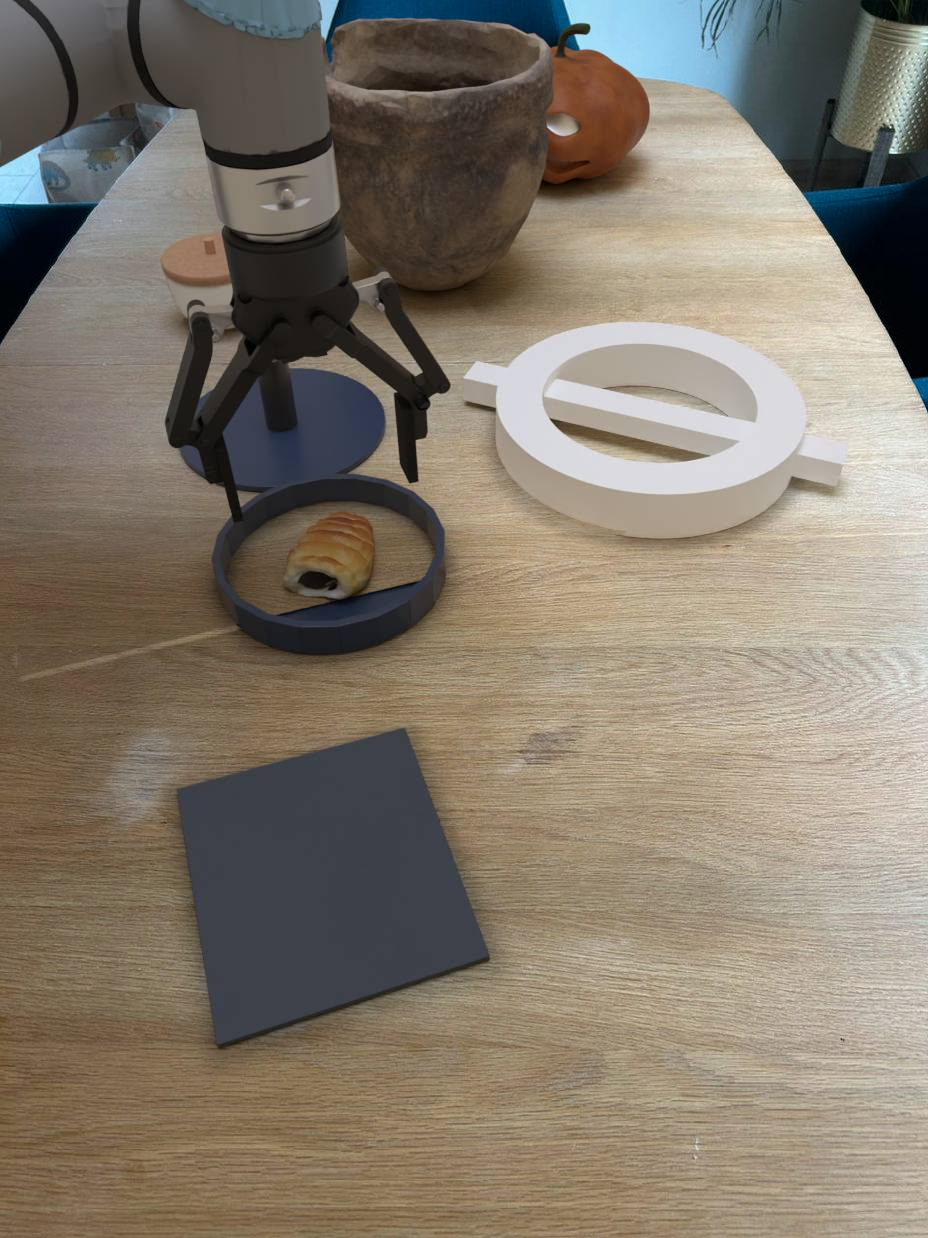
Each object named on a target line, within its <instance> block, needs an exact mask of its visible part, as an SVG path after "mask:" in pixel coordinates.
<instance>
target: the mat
mask: <svg viewBox="0 0 928 1238" xmlns="http://www.w3.org/2000/svg"><path fill="white" fill-rule="evenodd" d="M176 794H177V801H178V808H179V814H180V819H181V826H182V832H183V838H184V845H185V852H186V857H187V864H188V871H189V876H190V882H191V883H190V884H191V889H192V895H193V902H194V908H195V909H194V910H195V914H196V921H197V927H198V935H199V940H200V946H201V952H202V959H203V965H204V972H205V978H206V984H207V990H208V991H207V992H208V997H209V1004H210V1010H211V1016H212V1022H213V1030H214V1034H215V1041H216V1046H217V1048H219V1049H220V1048H221V1049H222V1048H223V1047H227V1046H229V1045H233V1044H236V1043H240V1042H243V1041H246V1040H248V1039H251V1038H254V1037H257V1036H260V1035H263V1034H266V1033H269V1032H273V1031H276V1030H279V1029H282V1028H284V1027H288V1026H290V1025H294V1024H297V1023H299V1022H303V1021H306V1020H309V1019H312V1018H315V1017H318V1016H321V1015H324V1014H328V1013H331V1012H334V1011H336V1010H339V1009H343V1008H347V1007H349V1006H352V1005H355V1004H358V1003H362V1002H364V1001H367V1000H370V999H373V998H376V997H379V996H383V995H386V994H388V993H392V992H394V991H398V990H401V989H404V988H407V987H410V986H413V985H416V984H419V983H423V982H426V981H429V980H431V979H435V978H437V977H440V976H444V975H446V974H450V973H453V972H456V971H459V970H462V969H465V968H468V967H471V966H474V965H477V964H480V963H484V962H486V961H489V960H490V958H491V957H490V952H489V950H488V947H487V944H486V942H485V939H484V937H483V934H482V931H481V928H480V926H479V923H478V921H477V918H476V914H475V912H474V909H473V907H472V904H471V902H470V899H469V896H468V893H467V891H466V889H465V886H464V883H463V880H462V877H461V874H460V872H459V869H458V866H457V864H456V861H455V859H454V855H453V853H452V851H451V848H450V845H449V842H448V839H447V837H446V834H445V831H444V829H443V826H442V824H441V821H440V818H439V815H438V813H437V810H436V807H435V804H434V802H433V799H432V797H431V794H430V791H429V788H428V785H427V783H426V781H425V778H424V774H423V772H422V770H421V767H420V764H419V760H418V758H417V756H416V754H415V751H414V748H413V745H412V743H411V740H410V738H409V734H408V732H407V730H406V727H401V728H398V729H394V730H391V731H387V732H384V733H383V732H382V733H379V734H376V735H371V736H368V737H365V738H360V739H357V740H353V741H349V742H346V743H342V744H338V745H334V746H331V747H327V748H324V749H320V750H317V751H312V752H309V753H305V754H301V755H297V756H294V757H291V758H286V759H283V760H279V761H276V762H272V763H268V764H265V765H264V764H263V765H260V766H257V767H254V768H250V769H249V768H248V769H246V770H242V771H239V772H234V773H231V774H227V775H223V776H219V777H216V778H212V779H209V780H205V781H201V782H198V783H193V784H190V785H187V786H183V787H178V788H176Z"/></svg>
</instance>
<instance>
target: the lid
mask: <svg viewBox="0 0 928 1238" xmlns="http://www.w3.org/2000/svg"><path fill="white" fill-rule="evenodd" d="M212 391H213V389H211V390H210V391H207V392H206V393H205V394H203V396H200V399H199V402H198V406H197V409H196V412H195V416H194V419H195V418H196V416H197V415H198V413H199V412H200V410H201V408H202V407H203V405H204V404H205V402H206V400H207V399H208V397H209V395H210V394H211V392H212ZM385 431H386V414H385V409H384V406H383V404H382V402H381V401H380V399H379V398H378V396H377V395H376V393H374V392H373V391H372V390H371V389H370V388H369V387H368V386H366V385H365V384H364V383H362V382H360V381H358V380H356V379H354V378H351V377H349V376H347V375H344V374H341V373H339V372H334V371H328V370H326V369H325V370H324V369H319V368H304V367H290V364H289V363H285V364H283V363H282V361H279V360H275V359H273V361H272V362H271V364H270V365H269V367H268V369H267V370H266V372H265V373H264V375H263V376H260V377H258V378H257V380H256V381H255V383H254V384H253V386H252V388H251V389H250V391H249V392H248V394H247V395H246V397H245V398H244V400H243V402H242V403H241V405H240V406H239V408H238V409H237V411H236V412H235V414H234V416H233V417H232V419H231V420H230V422H229V423H228V425H227V427H226V428H225V430H224V431H223V437H224V440H225V444H226V447H227V451H228V455H229V460H230V464H231V468H232V472H233V477H234V481H235V485H236V489H237V490H241V491H245V492H246V491H247V492H258V493H263V492H265V491H267V490H270V489H272V488H274V487H277V486H279V485H281V484H284V483H286V482H289V481H292V480H297V479H302V478H306V477H311V476H316V475H321V474H348V473H349V472H350V471H353V470H354V469H355V468H357V467H358V466H359V465H361V464H363V463H364V462H365V461H366V460H367V459H368V458H369V457H370V456H371V455H372V454H373V453H374V452H375V451H376V449H377V448H378V447H379V445H380V443H381V441H382V440H383V437H384V434H385ZM179 451H180V455H181V457H182V458H183V460H184V461H185V463H186V464H187V465H188V467H190V469H192V470H193V471H194V472H195V473H196V474H198V475H199V476H200V477H202V478H204V479H206V477H205V473H204V469H203V465H202V462H201V458H200V454H199V451H198V450H197V449H196V448H195V447H193V446H189V445H185V446H183V447H181V448H179ZM216 484H217V485H220V486H223V487H224V483H223V482H219V483H216Z"/></svg>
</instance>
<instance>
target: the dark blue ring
mask: <svg viewBox="0 0 928 1238" xmlns="http://www.w3.org/2000/svg"><path fill="white" fill-rule="evenodd" d="M341 502H342V503H343V502H344V503H346V502H347V503H348V502H350V503H352V502H356V503H357V502H358V503H361V504H362V503H363V504H366V505H367V504H368V505H371V506H373V505H374V506H378V507H383V508H386V509H388V510H391V511H393V512H395V513H398V514H400V515H402V516H404V517H406V518H408V519H409V520H411V521H412V522H413V523H414V524H415V525H416V526H417V527H419V529H421V530H422V531H423V532H424V533H425V534H426V535H427V536H428V538H429V540H430V542H431V545H432V547H433V549H434V551H435V555H434V557H433V558H432V560H431V563H430V564H429V567H428V569H427V571H426V573H425V575H424V576H423V577H422V578H421V579H420V580H415V581H411V582H408V583H404V584H399V585H395V586H391V587H386V588H381V589H378V590H374V591H369V592H365V593H362V594H358V595H352V596H349V597H347V598H345V599H340V600H339V599H335V600H333V601H332V600H331V601H328V602H324V603H320V604H315V605H311V606H307V607H302V608H299V609H294V610H290V611H286V612H282V613H277V614H272V613H268V612H266V611H265V610H262V609H260V608H259V607H258V606H255V605H254V604H252V603H250V602H248V601H246V600H244V599H243V598H242V597H241V596H240V595H239V594H238V593H237V591H235V589H234V588H233V587H232V586H231V584H230V583H229V582H228V581H227V578H228V575H229V574H228V573H229V570H230V565H231V561H232V558H233V556H234V555H235V554H236V552H237V551H238V550H239V548H240V547H241V545H242V544H243V542H244V541H245V540H246V539H247V538H248V537H249V536H250V535H251V534H253V533H254V532H255V531H257V530H258V529H259V528H260V527H262V526H263V525H265V524H266V523H267V522H268V521H270V520H273V519H275V518H278V517H280V516H282V515H284V514H286V513H289V512H290V511H293V510H295V509H299V508H304V507H309V506H314V505H318V504H322V503H341ZM241 511H242V515H243V519H244V521H240V522H235V523H234V522H233V518H232V515H231V516H230V517H229V518H228V520H227V521H226V522H225V524H224V525H223V526H222V528H221V529H220V530H219V531H218V533H217V535H216V538H215V539H216V540H215V544H214V547H213V551H212V554H211V564H212V567H213V572H214V577H215V580H216V585H217V588H218V593H219V596H220V600H221V604H222V606H223V608H224V609H225V610H226V611H227V613H228V614H229V615H230V616H231V617H232V619H233V620H234V621H235V622H236V624H235V625H236V626H237V628H239V629H240V630H241V631H243V633H245V634H246V635H248V636H249V637H251V638H253V639H254V640H256V641H257V642H259V643H262V644H264V645H266V646H269V647H271V648H275V649H278V650H282V651H284V652H289V653H295V654H300V655H302V654H303V655H313V656H318V655H319V656H321V655H322V656H323V655H324V656H326V655H327V656H331V655H339V654H341V655H342V654H348V653H353V652H358V651H362V650H365V649H369V648H372V647H376V646H378V645H381V644H383V643H386V642H388V641H390V640H393V639H394V638H396V637H397V636H399V635H401V634H403V633H405V632H406V631H408V630H409V629H411V628H412V627H414V626H415V625H416V624H417V623H419V622H420V621H421V620H422V619H423V618H424V617H425V616H426V615H427V614H428V612H429V611H430V610H431V609H432V608H433V607H434V605H435V603H436V602H437V600H438V599H439V597H440V596H441V595H440V594H441V592H442V591H443V587H444V584H445V581H446V575H447V574H446V563H447V562H446V554H447V553H446V532H445V528H444V527H443V525H442V523H441V520H440V518H439V517H438V515H437V512H436V510H435V509H434V508H433V507H432V506H431V505H430V504H429V503H428V502H426V501H425V500H424V499H423V498H422V497H421V496H420V495H419V494H417V493H416V492H415V491H414V490H411V489H409V488H407V487H405V486H402V485H400V484H398V483H396V482H394V481H391V480H389V479H386V478H381V477H376V476H370V475H365V474H359V473H345V474H321V475H316V476H311V477H306V478H302V479H297V480H292V481H289V482H286V483H284V484H281V485H279V486H277V487H274V488H272V489H270V490H267V491H265V492H259V493H258V494H257V495H255V496H254V497H253V498H251V499H250V500H249V501H247V502H246V503H244V504H243V505H242V506H241Z"/></svg>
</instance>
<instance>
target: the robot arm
mask: <svg viewBox="0 0 928 1238" xmlns="http://www.w3.org/2000/svg"><path fill="white" fill-rule="evenodd" d="M321 21H323V13H322V5H321V2H320V0H0V168H2V167H4V166H5V165H8V164H9V163H11V162H13V161H15V160H17V159H19V158H21V157H22V156H24V155H25V154H28V153H30V152H32V151H33V150H35V149H37V148H39V147H40V146H42V145H44V144H46V143H48V142H51V141H52V140H54V139H56V138H60V137H62V136H64V135H66V134H68V133H70V132H71V131H73V130H75V129H77V128H79V127H81V126H83V125H85V124H87V123H89V122H91V121H92V120H94V119H97V118H98V117H100V116H102V115H104V114H106V113H108V112H109V111H112V110H114V109H116V108H117V107H119V106H121V105H126V104H127V105H128V104H140V105H149V106H155V107H156V106H157V107H162V108H163V107H164V108H171V109H180V110H194V111H195V113H196V117H197V118H196V119H197V123H198V127H199V132H200V137H201V140H202V143H203V147H204V148H203V149H204V153H205V160H206V164H207V170H208V175H209V180H210V184H211V190H212V195H213V199H214V204H215V210H216V214H217V217H218V219H219V221H220V222H221V223H222V224H224V225H223V227H222V229H221V233H222V239H223V244H224V249H225V254H226V259H227V264H228V269H229V274H230V279H231V284H232V289H233V294H232V299H231V302H230V305H217V306H205V304H204V303H203V302H202V301H200V300H196V299H195V300H192V301H190V302H189V303H188V305H187V315H188V319H187V324H188V331H189V333H188V337H187V340H186V344H185V347H184V350H183V354H182V357H181V361H180V365H179V368H178V372H177V374H176V375H177V376H176V379H175V383H174V386H173V390H172V392H171V397H170V401H169V405H168V407H167V412H166V415H165V418H164V426H165V431H166V436H167V441H168V444H169V446H171V448H173V449H180V448H181V447H183V446H185V445H189V446H193V447H195V448H196V449H197V450H198V451H199V454H200V458H201V462H202V465H203V469H204V473H205V477H206V478H205V480H206V481H207V482H208V484H209V485H214V484H217V483H219V482H223V483H224V486H223V487H224V491H225V495H226V499H227V504H228V507H229V510H230V514H231V516H232V518H233V522H234V523H235V522H240V521H244V519H243V515H242V511H241V507H242V506H241V503H240V498H239V494H238V489H236V485H235V481H234V477H233V472H232V468H231V464H230V460H229V455H228V451H227V447H226V444H225V440H224V437H223V431H224V430H225V428H226V427H227V425H228V423H229V422H230V420H231V419H232V417H233V416H234V414H235V412H236V411H237V409H238V408H239V406H240V405H241V403H242V402H243V400H244V398H245V397H246V395H247V394H248V392H249V391H250V389H251V388H252V386H253V384H254V383H255V381H256V380H257V378H258V377H260V376H263V375H264V373H265V372H266V370H267V369H268V367H269V365H270V364H271V362H272V361H273V359H275V360H279V361H282V363H283V364H285V363H290V364H291V363H294V362H296V361H299V360H301V359H303V358H321V357H325V356H328V352H330V351H332V350H333V349H334V348H335V347H336V348H338V349H339V350H340V351H342V352H343V353H344V354H346V356H348V357H349V358H350V359H355V360H356V361H357V362H358V363H360V364H361V365H362V366H364V367H365V368H366V369H367V370H369V371H370V372H371V373H372V374H374V375H375V376H376V377H378V378H379V379H380V380H381V381H383V382H384V383H385V384H386V385H388V387H390V388H392V389H393V390H394V391H395V392H393V402H394V412H395V424H396V425H395V426H396V435H397V437H396V438H397V446H398V447H397V448H398V459H399V465H400V467H401V470H402V472H403V474H404V476H405V478H406V479H407V482H408V484H414V483H419V482H420V481H419V467H418V452H417V451H418V450H417V441H418V440H423V439H426V438H427V436H428V433H429V428H428V427H429V426H428V410H429V408H430V407H431V403H432V402H431V400H430V398H431V397H432V396H434V395H436V394H439V395H443V394H446V393H448V392H449V391H450V389H451V382H450V380H449V378H448V376H447V375H446V373H445V372H444V370H443V369H442V367H441V364H440V363H439V362H438V361H437V359H436V357H435V355H434V354H433V353H432V351H431V350H430V348H429V347H428V345H427V344H426V342H425V341H424V339H423V338H422V336H421V335H420V333H419V332H418V330H417V328H416V327H415V325H414V324H413V322H412V320H411V319H410V318H409V316H408V315H407V313H406V311H405V310H404V307H403V303H402V298H401V292H400V288H399V286H398V283H396V282H395V281H394V279H393V277H392V276H391V274H390V273H389V271H388V270H387V269H386V268H385V267H378V268H376V269H375V268H374V270H373V271H372V275H371V276H369V277H367V278H364V279H359V280H356V281H352V280H351V277H350V274H349V273H350V272H349V265H348V255H347V254H348V253H347V248H346V247H347V246H346V238H345V237H346V236H345V235H344V228H343V220H342V218H341V217H340V215H339V214H338V213H337V211H338V210H339V208H340V204H341V202H340V194H339V186H338V178H337V170H336V162H335V154H334V146H333V139H332V131H331V123H330V119H329V109H328V98H327V88H326V78H325V68H324V58H323V48H322V36H323V35H322V23H321ZM360 302H365V303H367V304H368V305H369V306H370V307H369V308H371V310H373V311H375V312H380V313H384V315H385V317H386V319H387V320H388V322H389V324H390V326H391V328H392V329H393V331H394V332H395V334H396V335H397V336H398V338H399V339H400V340H401V342H402V344H403V345H404V347H405V348H406V349H407V351H408V352H409V354H410V355H411V357H412V358H413V360H414V361H415V363H416V364H417V366H418V367H419V369H420V370H421V371H422V372H421V373H419V374H417V375H415V374H414V373H412V372H411V371H410V370H408V368H406V367H405V366H403V364H401V363H400V362H399V361H397V359H395V358H394V357H393V356H391V355H390V353H387V351H385V350H384V349H383V348H382V347H381V346H379V345H378V344H377V343H375V342H374V341H373V340H372V339H371V338H369V336H367V335H366V334H364V332H362V331H361V330H360V329H359V328H358V327H357V326H356V325H355V324H354V323H353V322H352V321H351V320H352V319H353V316H354V315H355V313H356V311H357V310H358V309H359V306H360ZM231 325H234V326H235V328H234V329H236V330H237V331H238V332H239V333H241V334H242V337H241V339H240V340H239V342H238V344H237V349H236V352H235V354H234V355H233V357H232V358H231V360H230V362H229V363H228V365H227V366H226V367H225V368H226V369H225V370H224V371H223V373H222V375H221V376H220V378H219V380H218V381H217V383H216V384H215V386H214V387H213V389H212V390H213V391H212V392H211V394H210V395H209V397H208V399H207V400H206V402H205V404H204V405H203V407H202V408H201V410H200V412H199V413H198V415H197V416H196V418H195V419H194V416H195V412H196V409H197V406H198V402H199V399H200V398H201V397H202V396H201V395H202V392H203V388H204V385H205V382H206V378H207V375H208V371H209V368H210V365H211V362H212V358H213V352H214V344H216V343H219V342H220V341H221V340H222V339H223V336H224V333H225V331H226V330H225V329H226V328H227V327H228V326H231Z"/></svg>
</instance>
